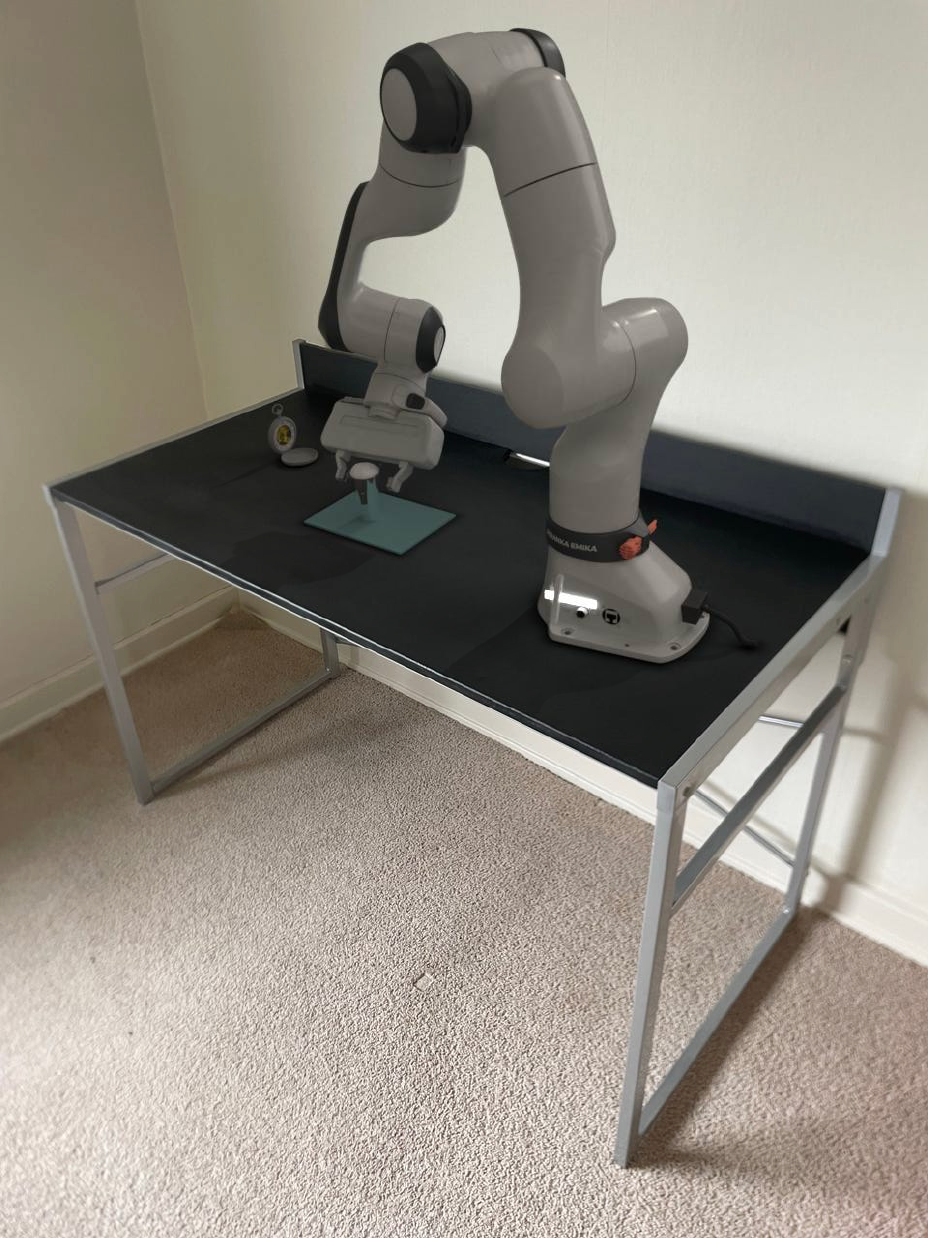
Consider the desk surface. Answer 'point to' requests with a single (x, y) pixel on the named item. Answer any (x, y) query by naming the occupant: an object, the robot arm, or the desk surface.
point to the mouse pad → (382, 522)
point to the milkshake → (366, 490)
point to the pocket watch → (288, 442)
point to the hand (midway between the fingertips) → (366, 485)
